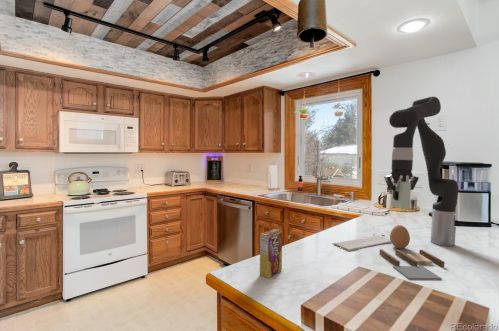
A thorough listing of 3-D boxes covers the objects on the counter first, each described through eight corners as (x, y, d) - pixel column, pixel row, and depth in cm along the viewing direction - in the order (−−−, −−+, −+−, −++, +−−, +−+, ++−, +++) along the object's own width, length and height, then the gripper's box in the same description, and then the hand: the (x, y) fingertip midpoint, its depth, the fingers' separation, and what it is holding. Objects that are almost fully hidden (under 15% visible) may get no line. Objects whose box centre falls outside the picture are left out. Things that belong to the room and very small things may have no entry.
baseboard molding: (330, 244, 132) (348, 252, 121) (330, 238, 132) (348, 246, 121) (372, 236, 146) (392, 243, 135) (372, 231, 146) (393, 238, 135)
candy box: (272, 267, 102) (273, 228, 102) (282, 270, 100) (283, 230, 99) (258, 274, 96) (259, 233, 95) (268, 278, 93) (269, 236, 92)
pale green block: (397, 205, 114) (399, 180, 114) (409, 209, 106) (410, 182, 106) (391, 205, 114) (392, 180, 114) (402, 209, 106) (403, 182, 106)
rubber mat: (422, 268, 105) (422, 266, 105) (441, 280, 95) (441, 278, 95) (392, 267, 104) (392, 265, 104) (408, 280, 94) (408, 277, 94)
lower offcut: (419, 258, 116) (419, 256, 116) (434, 267, 107) (434, 264, 107) (403, 258, 116) (403, 256, 116) (417, 267, 107) (417, 264, 107)
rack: (421, 255, 118) (422, 249, 118) (444, 267, 105) (444, 261, 105) (379, 254, 118) (379, 249, 118) (396, 267, 105) (396, 261, 105)
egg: (385, 246, 129) (386, 223, 129) (398, 244, 132) (399, 222, 132) (400, 252, 121) (401, 228, 121) (413, 250, 124) (414, 226, 124)
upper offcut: (419, 256, 116) (419, 254, 116) (431, 264, 108) (432, 261, 108) (405, 256, 116) (405, 253, 116) (417, 263, 108) (417, 261, 108)
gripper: (412, 158, 113) (410, 198, 114) (380, 158, 113) (379, 198, 114) (425, 159, 106) (422, 202, 107) (390, 158, 105) (388, 201, 106)
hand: (400, 199), depth 110 cm, fingers closed on pale green block, 3 cm apart
